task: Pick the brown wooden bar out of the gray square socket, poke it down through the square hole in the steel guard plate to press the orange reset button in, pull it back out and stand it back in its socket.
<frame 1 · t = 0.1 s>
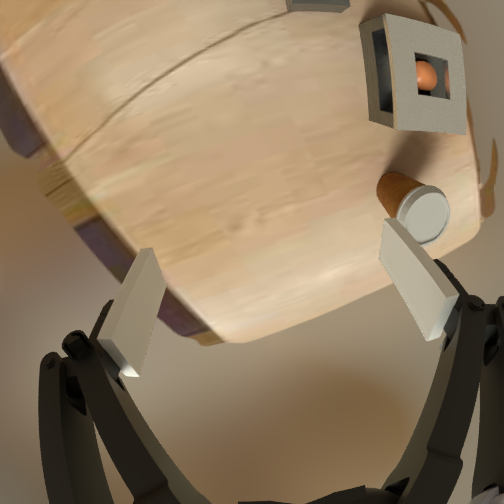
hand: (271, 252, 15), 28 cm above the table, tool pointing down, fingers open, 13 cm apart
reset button: (417, 75, 27), point 5 cm above the table, slide at 0.0 cm
disposable coffee cup: (391, 188, 42), on the table
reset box: (401, 75, 31), on the table
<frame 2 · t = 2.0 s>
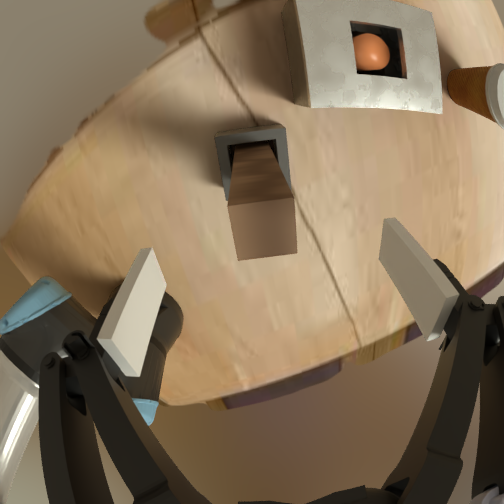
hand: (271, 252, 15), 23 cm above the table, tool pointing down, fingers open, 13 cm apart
gray square socket: (253, 157, 34), on the table
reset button: (364, 52, 22), point 5 cm above the table, slide at 0.0 cm
disposable coffee cup: (459, 87, 27), on the table
brown wooden bar: (257, 180, 26), in the gray square socket
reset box: (349, 56, 26), on the table
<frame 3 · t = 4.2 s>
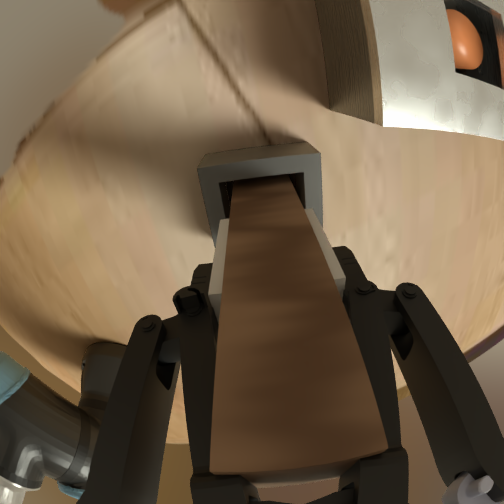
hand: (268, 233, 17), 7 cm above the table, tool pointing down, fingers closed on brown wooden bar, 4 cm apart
gray square socket: (262, 194, 22), on the table
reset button: (445, 39, 10), point 5 cm above the table, slide at 0.0 cm
brown wooden bar: (273, 266, 14), in the gray square socket, touching gripper
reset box: (409, 43, 14), on the table
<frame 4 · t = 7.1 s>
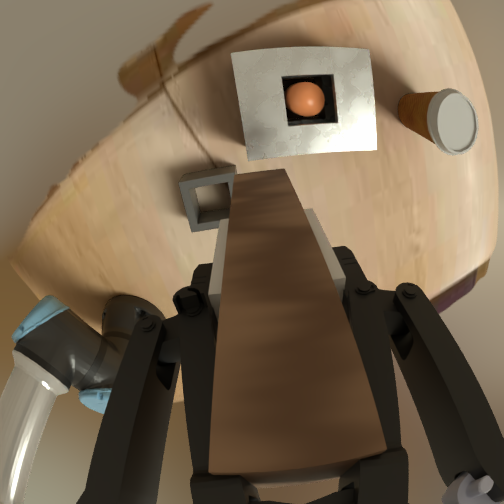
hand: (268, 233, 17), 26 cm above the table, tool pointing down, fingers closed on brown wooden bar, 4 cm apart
gray square socket: (214, 193, 42), on the table
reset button: (303, 98, 30), point 5 cm above the table, slide at 0.0 cm
disposable coffee cup: (412, 111, 34), on the table
brown wooden bar: (273, 267, 14), point 29 cm above the table, touching gripper
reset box: (295, 98, 34), on the table
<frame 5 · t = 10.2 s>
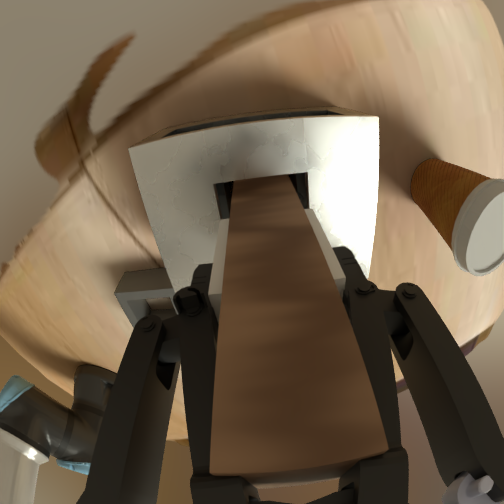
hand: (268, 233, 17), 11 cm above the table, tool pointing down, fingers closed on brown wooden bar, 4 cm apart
gray square socket: (162, 293, 34), on the table
disposable coffee cup: (430, 183, 26), on the table
brown wooden bar: (273, 267, 14), point 14 cm above the table, touching gripper, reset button
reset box: (259, 178, 26), on the table
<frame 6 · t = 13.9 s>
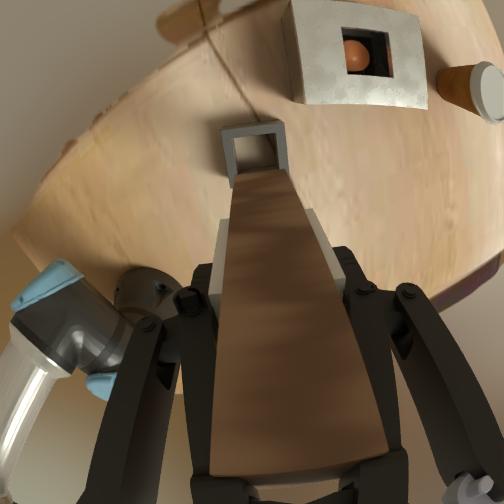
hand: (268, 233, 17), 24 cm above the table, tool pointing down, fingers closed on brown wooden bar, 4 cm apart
gray square socket: (255, 149, 37), on the table
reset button: (348, 56, 27), point 2 cm above the table, slide at 2.6 cm
disposable coffee cup: (448, 85, 29), on the table
brown wooden bar: (273, 268, 14), point 28 cm above the table, touching gripper
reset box: (342, 58, 29), on the table
when the fingers open (8 cm above the table, at t = 17.1 s): brown wooden bar drops 2 cm, resting in gray square socket.
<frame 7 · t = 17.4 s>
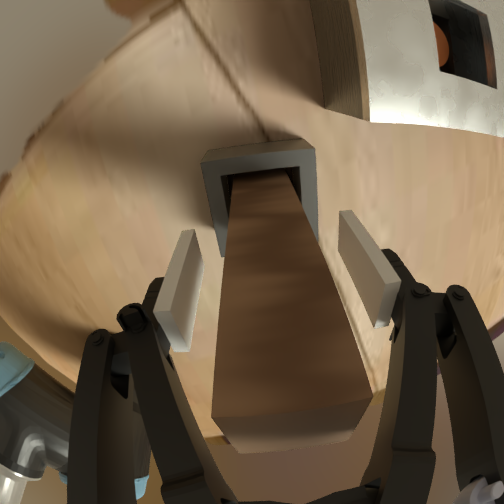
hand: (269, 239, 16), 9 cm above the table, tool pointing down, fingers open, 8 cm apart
gray square socket: (261, 187, 23), on the table
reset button: (415, 43, 14), point 2 cm above the table, slide at 2.6 cm
brown wooden bar: (270, 251, 15), in the gray square socket
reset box: (401, 45, 16), on the table
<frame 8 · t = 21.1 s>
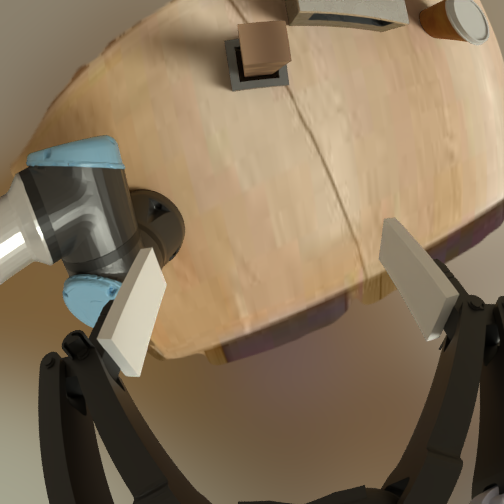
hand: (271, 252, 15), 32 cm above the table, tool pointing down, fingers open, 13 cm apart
gray square socket: (256, 64, 34), on the table
disposable coffee cup: (431, 23, 26), on the table
brown wooden bar: (259, 56, 26), in the gray square socket
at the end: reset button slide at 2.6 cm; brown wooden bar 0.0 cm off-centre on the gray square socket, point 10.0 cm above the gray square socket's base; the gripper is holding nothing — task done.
